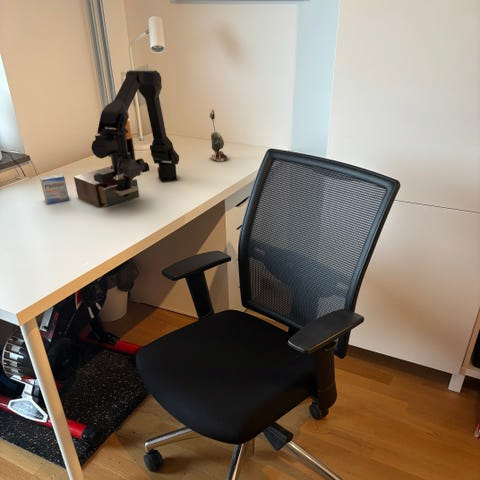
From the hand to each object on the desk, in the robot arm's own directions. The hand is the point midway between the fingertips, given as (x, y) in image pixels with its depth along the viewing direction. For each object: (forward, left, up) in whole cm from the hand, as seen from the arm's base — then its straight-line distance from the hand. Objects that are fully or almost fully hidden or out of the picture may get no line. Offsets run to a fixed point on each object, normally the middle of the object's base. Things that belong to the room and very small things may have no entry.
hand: (126, 196), depth 173 cm
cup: (+3, -6, -1) cm, 7 cm away
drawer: (+3, -5, -2) cm, 6 cm away
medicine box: (+24, -15, -4) cm, 28 cm away
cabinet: (+7, -12, -3) cm, 14 cm away
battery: (-4, -43, -4) cm, 43 cm away
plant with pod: (-43, -43, -4) cm, 61 cm away
